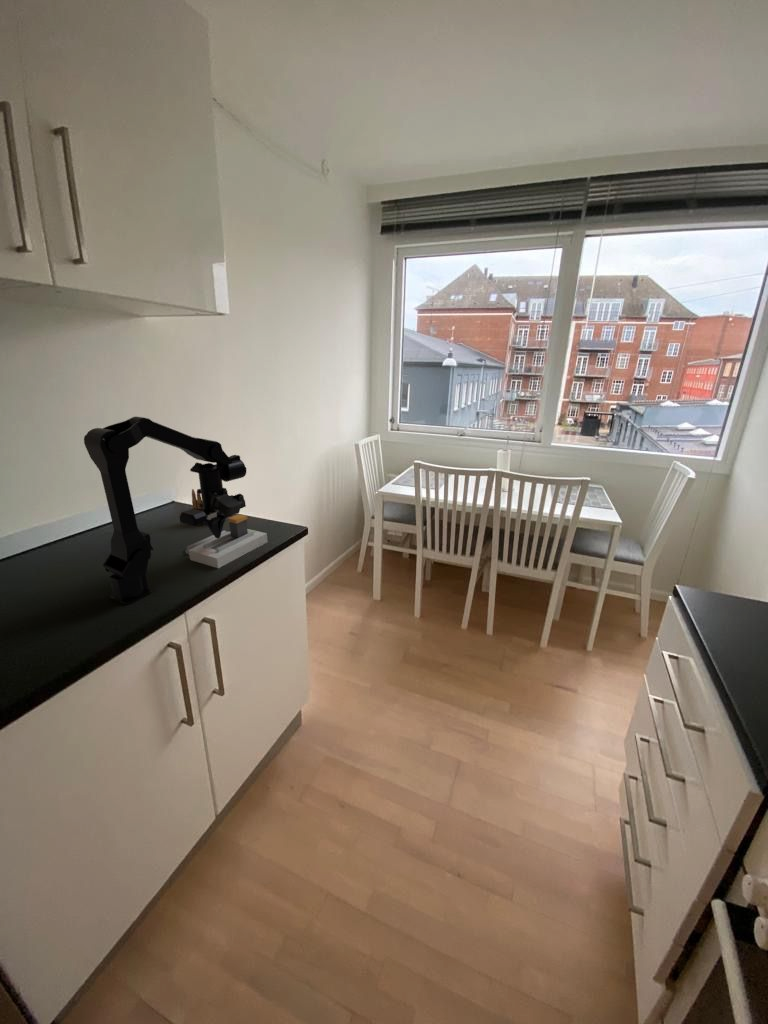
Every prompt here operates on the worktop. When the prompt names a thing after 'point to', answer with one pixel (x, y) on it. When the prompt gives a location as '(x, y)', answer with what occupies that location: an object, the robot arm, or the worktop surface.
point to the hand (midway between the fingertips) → (217, 537)
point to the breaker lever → (238, 525)
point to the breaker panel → (227, 548)
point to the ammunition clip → (196, 501)
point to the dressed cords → (202, 542)
